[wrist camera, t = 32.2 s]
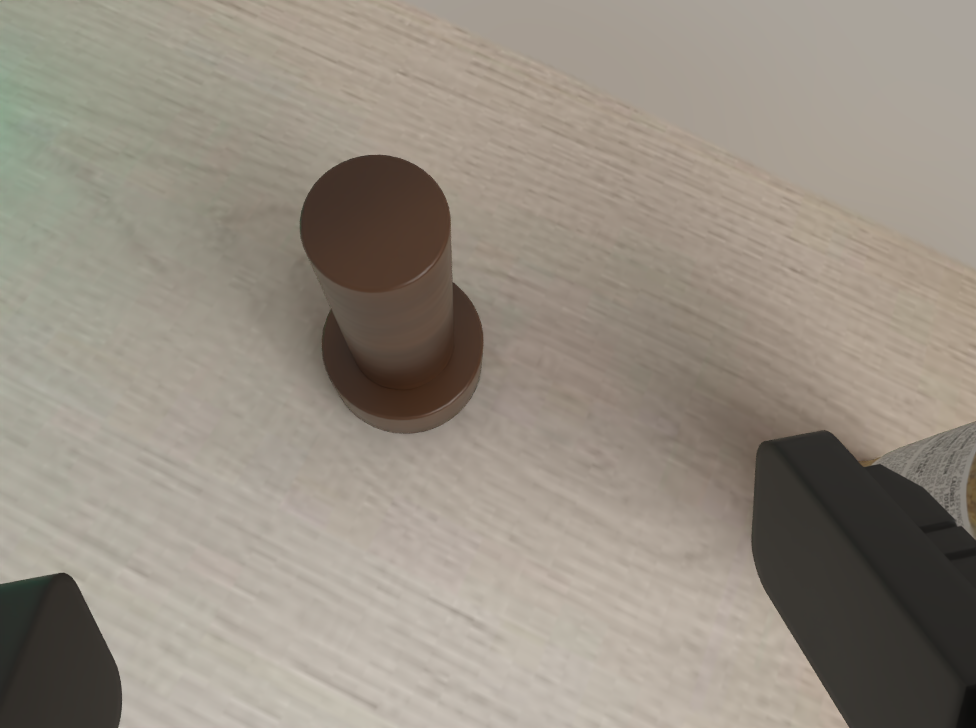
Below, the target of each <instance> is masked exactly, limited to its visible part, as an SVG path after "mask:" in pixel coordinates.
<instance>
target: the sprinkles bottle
mask: <svg viewBox="0 0 976 728" xmlns="http://www.w3.org/2000/svg"><path fill="white" fill-rule="evenodd" d="M859 463H860V464H861V465H862V466H863V467H867V466H872V465H877V464H881V465H883V466H885V467H887V468H889V469H890V470H892V471H894V472H896V473H898V474H900V475H901V476H903V477H905V478H907V479H909V480H911V481H912V482H914V483H916V484H918V485H920V486H922V487H923V488H925V489H926V490H927V491H928V492H929V493H930V495H931V496H932V497H933V498H934V499H935V500H936V501H937V502H938V503H939V504H940V505H941V506H942V507H943V508H944V509H945V510H946V511H947V512H948V513H949V514H950V515H951V516H952V517H953V518H954V519H955V523H956V525H957V526H962V527H963V528H964V529H965V530H966V531H967V532H968V533H969V534H970V535H971V536H972V537H973V538H974V539H975V540H976V421H975V422H972V423H969V424H966V425H963V426H960V427H958V428H955V429H952V430H949V431H946V432H943V433H940V434H937V435H934V436H932V437H929V438H926V439H923V440H920V441H918V442H915V443H912V444H909V445H906V446H903V447H901V448H898V449H896V450H893V451H891V452H889V453H887V454H885V455H883V456H882V457H879V458H877V459H874V460H871V461H860V462H859Z"/></svg>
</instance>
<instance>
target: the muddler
mask: <svg viewBox="0 0 976 728" xmlns="http://www.w3.org/2000/svg"><path fill="white" fill-rule="evenodd" d="M300 235H301V241H302V244H303V247H304V250H305V252H306V254H307V256H308V259H309V261H310V263H311V265H312V268H313V270H314V272H315V274H316V276H317V279H318V281H319V283H320V285H321V287H322V290H323V292H324V294H325V296H326V298H327V301H328V303H329V305H330V307H331V309H330V312H329V314H328V316H327V318H326V321H325V325H324V328H323V334H322V356H323V361H324V365H325V369H326V371H327V373H328V376H329V378H330V380H331V382H332V383H333V385H334V386H335V388H336V390H337V391H338V393H339V395H340V396H341V398H342V400H343V401H344V403H345V404H346V405H347V407H348V408H349V409H350V410H351V411H352V412H353V413H354V414H355V415H356V416H357V417H359V418H360V419H361V420H363V421H364V422H366V423H368V424H369V425H371V426H373V427H376V428H378V429H381V430H384V431H388V432H393V433H403V434H405V433H417V432H423V431H427V430H430V429H433V428H435V427H438V426H440V425H442V424H444V423H445V422H447V421H449V420H450V419H452V418H453V417H454V416H455V415H457V414H458V413H459V412H460V411H461V410H462V409H463V408H464V407H465V405H466V404H467V403H468V401H469V400H470V399H471V397H472V395H473V393H474V391H475V389H476V387H477V384H478V382H479V378H480V374H481V366H482V355H483V331H482V325H481V322H480V319H479V316H478V313H477V311H476V309H475V307H474V305H473V304H472V302H471V301H470V299H469V298H468V296H467V295H466V294H465V293H464V292H463V291H462V290H461V289H460V288H459V287H458V286H457V285H456V284H455V283H453V282H452V250H451V217H450V211H449V206H448V203H447V200H446V198H445V196H444V194H443V192H442V190H441V188H440V187H439V185H438V184H437V183H436V182H435V180H434V179H433V178H432V177H431V176H430V175H429V174H427V173H426V172H425V171H424V170H422V169H421V168H419V167H418V166H416V165H415V164H413V163H411V162H408V161H406V160H403V159H400V158H397V157H393V156H387V155H367V156H360V157H356V158H352V159H349V160H347V161H344V162H342V163H340V164H338V165H336V166H335V167H333V168H332V169H330V170H329V171H327V172H326V173H325V174H324V175H323V176H322V177H321V178H319V180H318V181H317V182H316V183H315V184H314V186H313V187H312V189H311V190H310V192H309V193H308V195H307V197H306V199H305V202H304V204H303V207H302V211H301V216H300Z"/></svg>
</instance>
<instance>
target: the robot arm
mask: <svg viewBox="0 0 976 728" xmlns="http://www.w3.org/2000/svg"><path fill="white" fill-rule="evenodd" d="M752 551H753V557H754V562H755V566H756V569H757V572H758V575H759V578H760V581H761V583H762V585H763V587H764V589H765V591H766V593H767V595H768V596H769V598H770V599H771V601H772V603H773V604H774V606H775V608H776V609H777V611H778V612H779V614H780V616H781V617H782V619H783V621H784V622H785V624H786V625H787V627H788V629H789V630H790V632H791V634H792V635H793V637H794V638H795V640H796V642H797V643H798V645H799V647H800V648H801V650H802V651H803V653H804V655H805V656H806V658H807V660H808V661H809V663H810V664H811V666H812V668H813V669H814V671H815V673H816V674H817V676H818V677H819V679H820V681H821V682H822V684H823V686H824V687H825V689H826V690H827V692H828V694H829V695H830V697H831V699H832V700H833V702H834V703H835V705H836V707H837V708H838V710H839V712H840V713H841V715H842V716H843V718H844V720H845V721H846V723H847V725H848V726H849V728H976V540H975V539H974V538H973V537H972V536H971V535H970V534H969V533H968V532H967V531H966V530H965V529H964V528H963V527H962V526H957V525H956V523H955V519H954V518H953V517H952V516H951V515H950V514H949V513H948V512H947V511H946V510H945V509H944V508H943V507H942V506H941V505H940V504H939V503H938V502H937V501H936V500H935V499H934V498H933V497H932V496H931V495H930V493H929V492H928V491H927V490H926V489H925V488H923V487H922V486H920V485H918V484H916V483H914V482H912V481H911V480H909V479H907V478H905V477H903V476H901V475H900V474H898V473H896V472H894V471H892V470H890V469H889V468H887V467H885V466H883V465H881V464H877V465H872V466H867V467H863V466H862V465H861V464H860V463H859V462H858V461H857V460H856V458H855V457H854V456H853V455H852V454H851V453H850V452H849V451H848V450H847V449H846V448H845V447H844V445H843V444H842V443H841V442H840V441H839V440H838V439H837V438H836V437H835V436H834V435H833V434H831V433H830V432H828V431H825V430H824V431H817V432H811V433H806V434H801V435H795V436H790V437H785V438H780V439H774V440H769V441H764V442H762V443H761V444H760V445H759V448H758V450H757V455H756V469H755V486H754V503H753V521H752ZM121 710H122V688H121V681H120V676H119V671H118V668H117V665H116V663H115V661H114V658H113V656H112V654H111V652H110V650H109V648H108V646H107V644H106V642H105V640H104V638H103V636H102V634H101V632H100V630H99V628H98V626H97V624H96V622H95V620H94V618H93V616H92V614H91V612H90V610H89V608H88V606H87V604H86V602H85V600H84V598H83V595H82V593H81V591H80V589H79V587H78V586H77V584H76V582H75V581H74V579H73V578H72V577H71V576H69V575H68V574H66V573H57V574H52V575H47V576H41V577H36V578H31V579H26V580H20V581H15V582H10V583H4V584H0V728H118V726H119V722H120V718H121Z"/></svg>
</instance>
